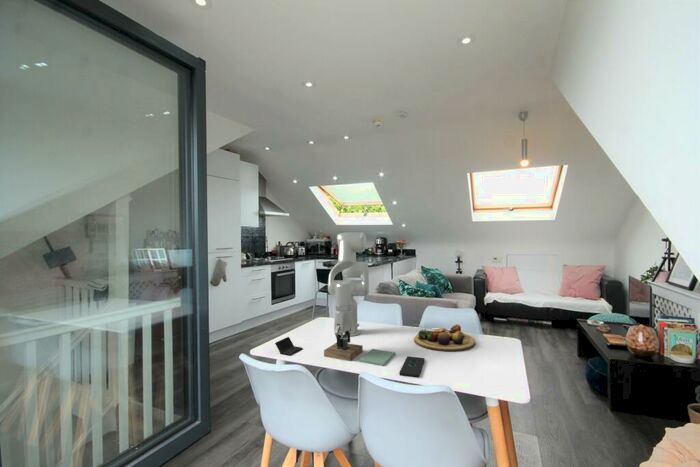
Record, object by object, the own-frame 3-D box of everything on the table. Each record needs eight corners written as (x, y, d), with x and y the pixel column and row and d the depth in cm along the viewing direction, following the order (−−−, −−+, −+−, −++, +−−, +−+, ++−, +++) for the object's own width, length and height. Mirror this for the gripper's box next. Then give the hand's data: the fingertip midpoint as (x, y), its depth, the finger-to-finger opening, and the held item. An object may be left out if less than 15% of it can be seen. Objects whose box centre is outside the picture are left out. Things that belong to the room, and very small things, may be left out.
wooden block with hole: (338, 347, 171) (338, 341, 171) (362, 351, 165) (362, 345, 165) (324, 356, 158) (324, 350, 158) (350, 361, 152) (350, 354, 152)
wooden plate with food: (446, 331, 200) (445, 317, 200) (489, 345, 171) (488, 329, 171) (402, 339, 186) (402, 325, 186) (441, 357, 157) (440, 340, 157)
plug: (342, 352, 164) (341, 333, 164) (349, 353, 162) (349, 334, 162) (338, 354, 161) (337, 336, 161) (345, 356, 159) (345, 337, 159)
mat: (372, 350, 165) (372, 348, 165) (395, 354, 160) (395, 352, 160) (358, 361, 151) (358, 359, 151) (383, 366, 146) (383, 363, 146)
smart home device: (425, 357, 152) (418, 374, 133) (425, 361, 152) (419, 379, 133) (407, 355, 155) (398, 372, 136) (407, 359, 155) (398, 376, 136)
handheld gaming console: (293, 353, 159) (283, 335, 162) (282, 361, 160) (272, 343, 163) (304, 348, 170) (294, 332, 173) (293, 356, 171) (284, 340, 174)
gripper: (344, 304, 171) (345, 338, 171) (327, 310, 156) (328, 348, 155) (357, 305, 168) (358, 340, 168) (341, 312, 152) (342, 351, 152)
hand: (343, 344), depth 161 cm, fingers open, 6 cm apart
